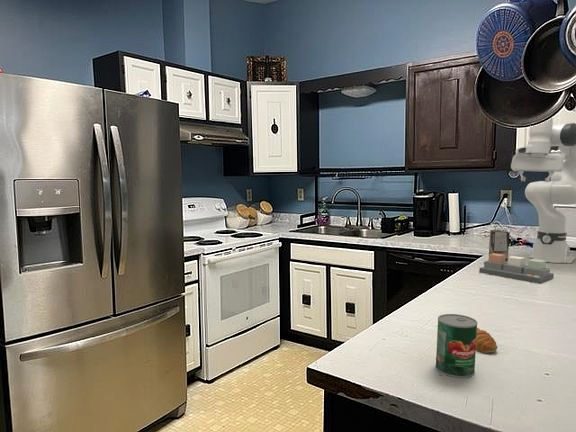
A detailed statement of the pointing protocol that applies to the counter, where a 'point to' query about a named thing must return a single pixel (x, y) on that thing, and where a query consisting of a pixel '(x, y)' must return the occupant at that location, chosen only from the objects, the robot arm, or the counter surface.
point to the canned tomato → (456, 345)
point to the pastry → (485, 342)
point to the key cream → (516, 261)
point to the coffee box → (499, 242)
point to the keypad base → (516, 272)
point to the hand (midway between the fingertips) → (534, 181)
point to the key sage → (537, 264)
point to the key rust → (497, 258)
